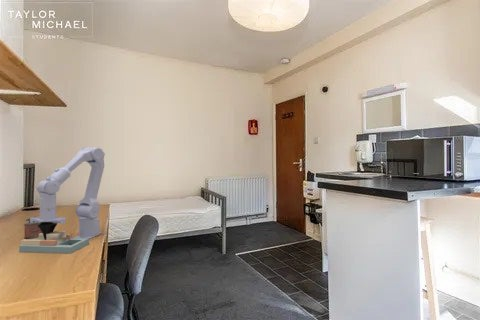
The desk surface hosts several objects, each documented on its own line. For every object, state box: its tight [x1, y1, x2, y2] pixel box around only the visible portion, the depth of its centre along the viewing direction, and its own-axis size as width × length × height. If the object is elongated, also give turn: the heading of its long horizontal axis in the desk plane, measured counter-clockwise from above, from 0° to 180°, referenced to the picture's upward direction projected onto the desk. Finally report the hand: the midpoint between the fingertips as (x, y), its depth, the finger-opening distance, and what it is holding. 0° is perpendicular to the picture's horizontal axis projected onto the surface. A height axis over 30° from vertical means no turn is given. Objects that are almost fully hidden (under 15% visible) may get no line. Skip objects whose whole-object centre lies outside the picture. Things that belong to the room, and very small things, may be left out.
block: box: [46, 230, 67, 244], centre depth 114 cm, size 5×5×4 cm
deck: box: [18, 233, 90, 254], centre depth 114 cm, size 12×22×4 cm, turn 86°
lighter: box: [23, 216, 42, 240], centre depth 129 cm, size 8×3×10 cm, turn 141°
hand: (47, 239), depth 115 cm, fingers closed
